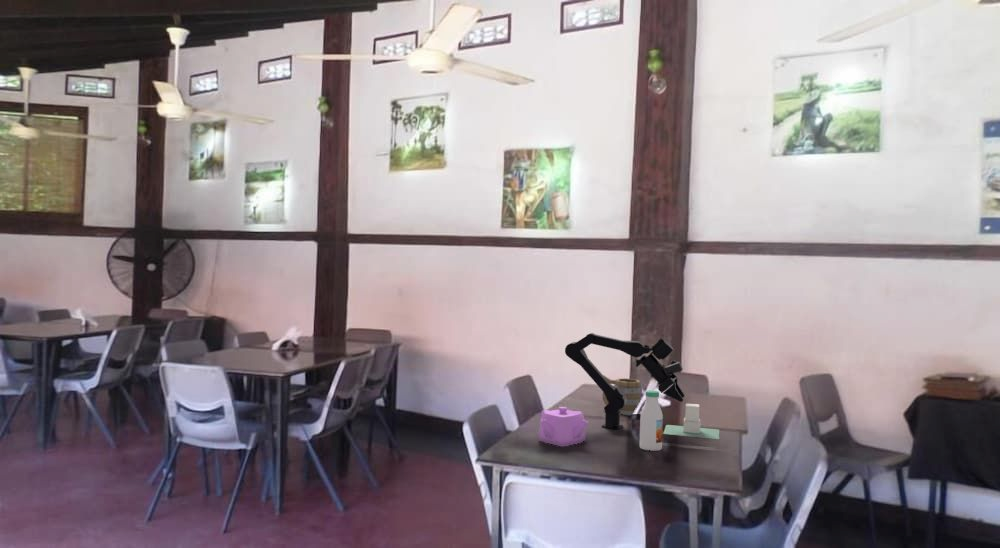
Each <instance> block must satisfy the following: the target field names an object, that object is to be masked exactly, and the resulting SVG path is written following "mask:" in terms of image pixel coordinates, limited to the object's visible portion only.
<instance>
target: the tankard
mask: <svg viewBox="0 0 1000 548" xmlns="http://www.w3.org/2000/svg"><path fill="white" fill-rule="evenodd" d="M602 375H603V374H602ZM603 376H604V377H605V378H606V379H607V380H608V382H609V383H610V384H611V385H613V386H614V387H615V388H617V386H619V387H620V388H621V390H622V391H623V392H625V396H626V398H627V401H626V404H625V405H624V406H623V408H621V409H620V410H619V411H620V415H621V414H623V416H632V415H631V414H632V413H633V412H634V410H635V408H636V407H637V405H638V403H639V402H640V400H641V398H642V397H641V393H643V387H642V382H641V380H638V379H636V378H625V377H624V378H617V379H611V378H609V377H607V376H606V375H603ZM602 401H603V403H604V405H605V406H606V405H607V404H608V403H609V402H608V400H607V398H606V396H605V394H604V392H603V391H602Z"/></svg>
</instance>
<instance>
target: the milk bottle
mask: <svg viewBox="0 0 1000 548" xmlns="http://www.w3.org/2000/svg"><path fill="white" fill-rule="evenodd" d="M659 396H660V391H659V390H658V391H657V390H646V391H645V402H644V405H643V407H642V408H641V409H642V411H641V414H640V417H639V419H640V421H639V422H640V423H639V448H640V449H641V450H644V451H649V450H650V451H651V452H656V451H661V450H662V449H663V432H664V431H663V429H664V427H663V426H664V420H663V419H664V416H663V411H662V409H661V408H662V407H661V406H660V403H659V399H660V397H659Z"/></svg>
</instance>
